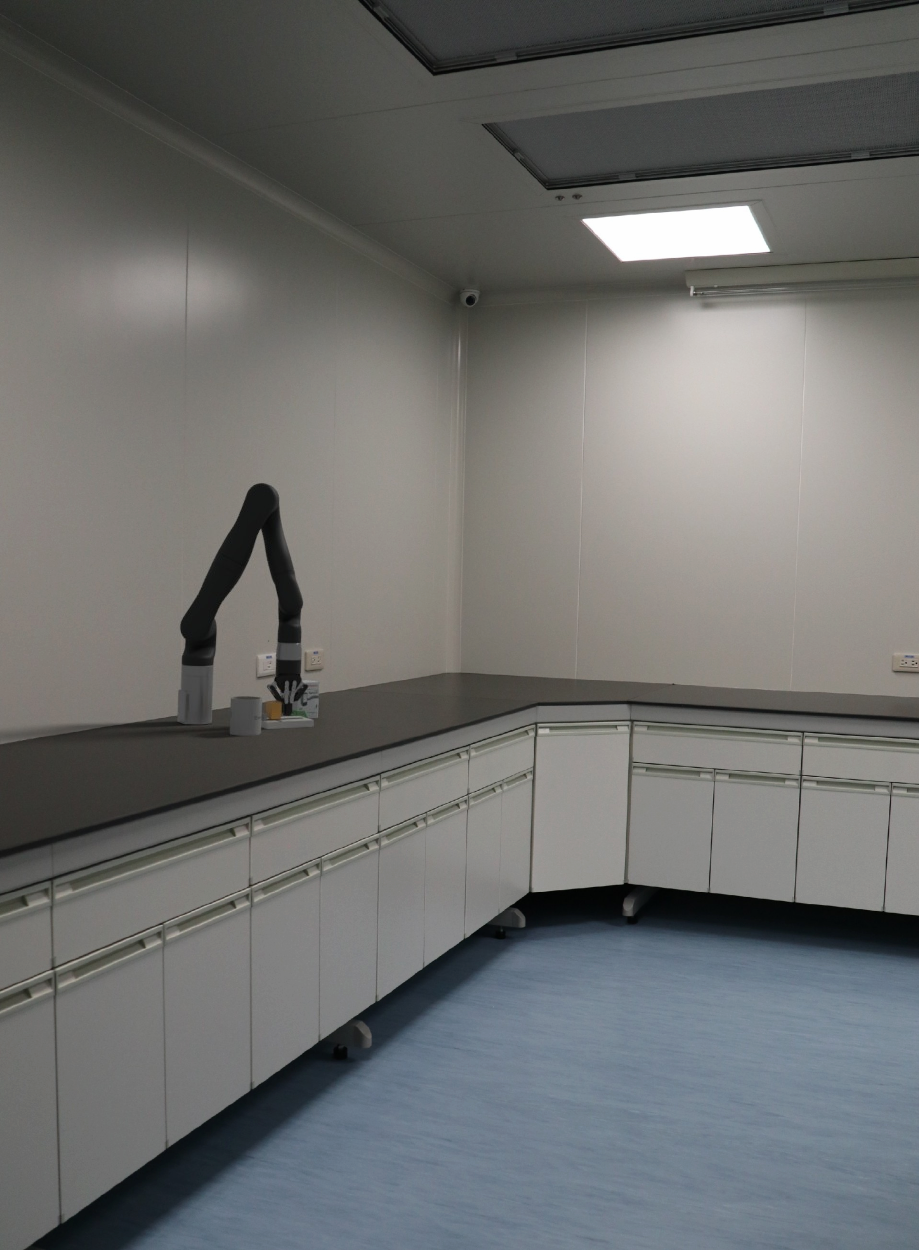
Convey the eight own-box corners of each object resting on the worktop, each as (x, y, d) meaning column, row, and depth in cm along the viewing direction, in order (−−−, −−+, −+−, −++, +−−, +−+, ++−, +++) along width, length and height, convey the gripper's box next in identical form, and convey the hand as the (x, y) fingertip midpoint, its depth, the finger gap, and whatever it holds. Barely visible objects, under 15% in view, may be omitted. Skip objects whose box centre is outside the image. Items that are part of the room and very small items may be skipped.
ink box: (296, 720, 325) (297, 682, 324) (287, 718, 328) (288, 680, 328) (318, 718, 331) (320, 681, 330) (309, 716, 334) (310, 679, 334)
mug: (250, 736, 288) (252, 700, 288) (223, 734, 291) (224, 698, 290) (272, 731, 300) (274, 696, 299) (246, 728, 302) (247, 694, 302)
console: (267, 729, 303) (267, 715, 303) (253, 724, 311) (253, 711, 311) (313, 726, 311) (314, 713, 311) (298, 722, 320) (299, 709, 319)
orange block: (271, 719, 307) (271, 702, 306) (265, 717, 310) (266, 701, 310) (280, 718, 308) (281, 702, 308) (275, 717, 312) (275, 701, 311)
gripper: (273, 659, 304) (271, 718, 305) (314, 658, 312) (312, 716, 312) (262, 657, 310) (261, 715, 311) (303, 656, 318) (301, 713, 319)
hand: (286, 715), depth 312 cm, fingers closed
